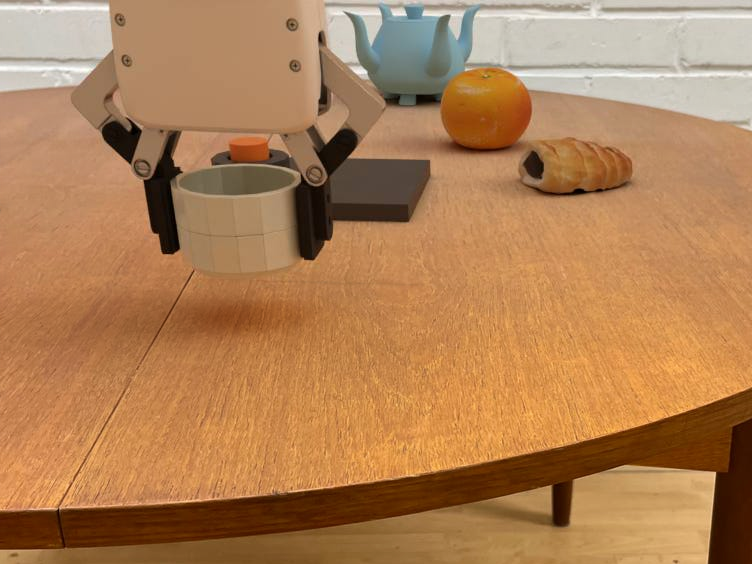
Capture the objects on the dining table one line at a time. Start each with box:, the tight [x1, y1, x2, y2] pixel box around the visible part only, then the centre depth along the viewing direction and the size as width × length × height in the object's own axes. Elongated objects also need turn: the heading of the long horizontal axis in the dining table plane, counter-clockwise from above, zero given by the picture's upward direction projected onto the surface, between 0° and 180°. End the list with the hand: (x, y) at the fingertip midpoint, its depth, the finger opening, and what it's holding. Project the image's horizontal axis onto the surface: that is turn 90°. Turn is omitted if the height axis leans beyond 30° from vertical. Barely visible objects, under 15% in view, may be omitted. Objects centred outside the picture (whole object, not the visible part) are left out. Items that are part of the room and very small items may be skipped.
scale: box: [210, 148, 431, 223], centre depth 77 cm, size 16×14×3 cm
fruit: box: [440, 67, 533, 151], centre depth 91 cm, size 8×8×8 cm
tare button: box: [228, 136, 270, 162], centre depth 76 cm, size 3×3×2 cm
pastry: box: [517, 136, 634, 195], centre depth 80 cm, size 9×7×4 cm
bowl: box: [170, 164, 304, 281], centre depth 53 cm, size 7×7×4 cm
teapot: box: [342, 2, 484, 106], centre depth 112 cm, size 13×13×10 cm
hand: (244, 247), depth 53 cm, fingers closed on bowl, 7 cm apart
